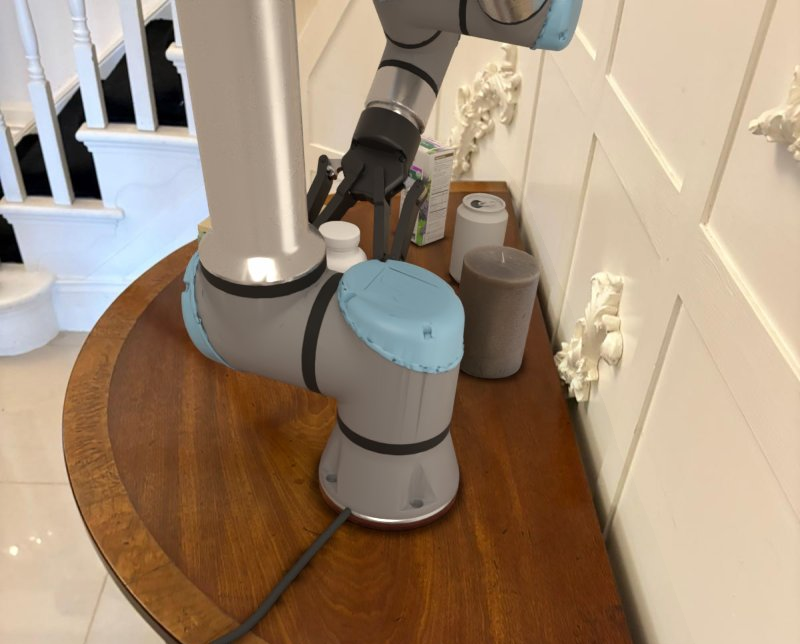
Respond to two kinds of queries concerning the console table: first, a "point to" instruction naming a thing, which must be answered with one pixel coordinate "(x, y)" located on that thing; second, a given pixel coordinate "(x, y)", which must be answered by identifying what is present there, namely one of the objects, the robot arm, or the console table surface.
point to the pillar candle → (496, 308)
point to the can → (477, 227)
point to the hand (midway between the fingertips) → (323, 310)
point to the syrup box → (431, 189)
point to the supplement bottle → (342, 245)
